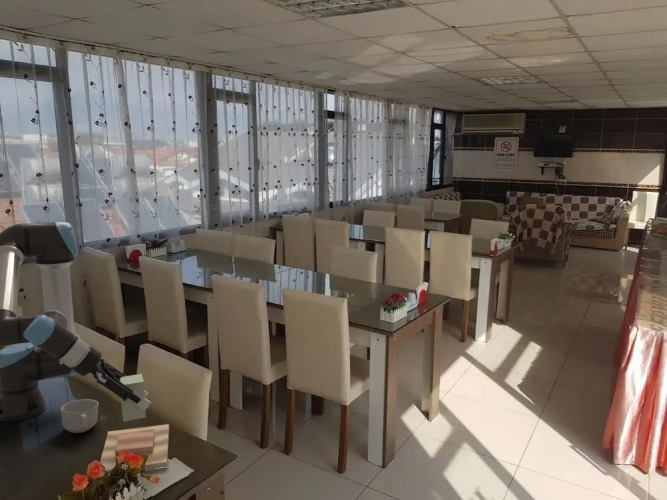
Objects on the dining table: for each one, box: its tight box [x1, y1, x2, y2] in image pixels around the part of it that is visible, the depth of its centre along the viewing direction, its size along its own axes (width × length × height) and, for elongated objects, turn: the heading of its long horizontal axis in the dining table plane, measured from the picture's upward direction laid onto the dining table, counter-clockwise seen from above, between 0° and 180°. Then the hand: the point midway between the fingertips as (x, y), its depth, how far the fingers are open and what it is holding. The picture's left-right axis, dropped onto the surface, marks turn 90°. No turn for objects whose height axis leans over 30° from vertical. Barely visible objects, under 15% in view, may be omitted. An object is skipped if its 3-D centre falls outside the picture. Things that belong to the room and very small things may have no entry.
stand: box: [99, 423, 170, 472], centre depth 152 cm, size 22×18×4 cm
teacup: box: [60, 398, 99, 434], centre depth 164 cm, size 14×11×8 cm
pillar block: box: [120, 373, 147, 422], centre depth 149 cm, size 6×6×11 cm
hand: (146, 401), depth 151 cm, fingers closed on pillar block, 6 cm apart
